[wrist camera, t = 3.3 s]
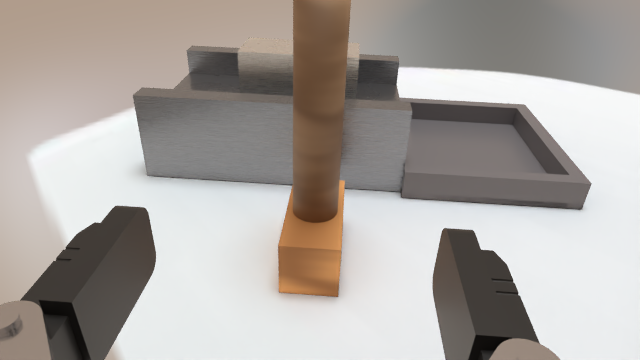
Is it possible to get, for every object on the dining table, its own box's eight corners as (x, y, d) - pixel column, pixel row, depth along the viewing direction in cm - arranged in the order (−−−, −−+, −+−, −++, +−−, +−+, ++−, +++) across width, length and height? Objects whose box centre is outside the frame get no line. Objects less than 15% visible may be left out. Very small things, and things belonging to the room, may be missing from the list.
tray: (519, 124, 43) (524, 104, 42) (581, 209, 31) (591, 183, 30) (389, 117, 44) (392, 97, 43) (401, 197, 32) (405, 172, 31)
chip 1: (355, 93, 37) (359, 43, 35) (355, 111, 34) (359, 57, 32) (306, 90, 38) (306, 40, 36) (301, 109, 34) (301, 54, 32)
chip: (300, 90, 38) (300, 40, 36) (294, 108, 34) (294, 54, 32) (251, 87, 38) (249, 37, 36) (240, 105, 34) (237, 51, 32)
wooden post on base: (341, 221, 29) (360, -43, 21) (337, 296, 23) (361, -26, 16) (294, 218, 29) (295, -46, 22) (279, 292, 24) (273, -30, 16)
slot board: (390, 120, 43) (397, 56, 40) (400, 191, 32) (412, 111, 29) (199, 109, 44) (192, 45, 41) (147, 175, 33) (132, 95, 30)
